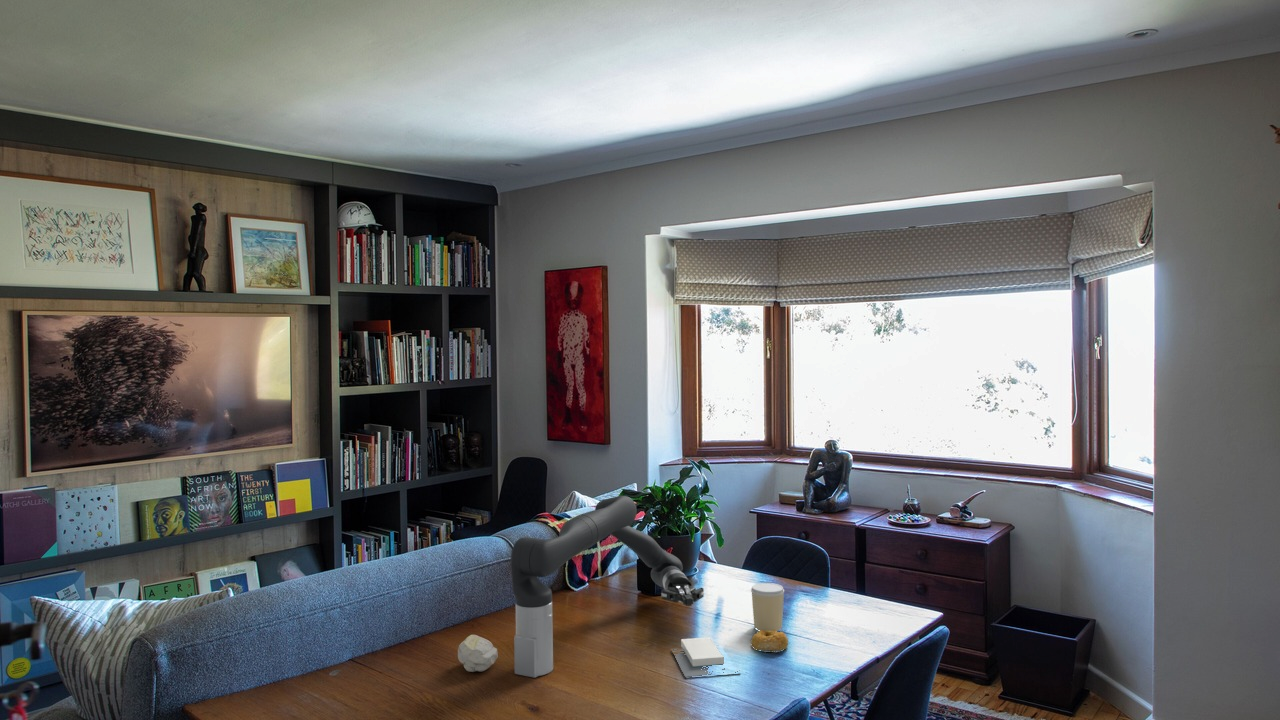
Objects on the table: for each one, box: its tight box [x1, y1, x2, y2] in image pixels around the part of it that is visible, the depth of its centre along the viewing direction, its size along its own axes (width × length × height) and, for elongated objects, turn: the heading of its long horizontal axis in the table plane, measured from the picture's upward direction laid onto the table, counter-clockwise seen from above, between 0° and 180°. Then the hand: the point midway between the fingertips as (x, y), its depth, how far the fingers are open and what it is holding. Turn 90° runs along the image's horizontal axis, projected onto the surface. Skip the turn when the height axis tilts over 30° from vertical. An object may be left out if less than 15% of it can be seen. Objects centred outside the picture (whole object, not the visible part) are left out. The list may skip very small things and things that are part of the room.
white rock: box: [457, 634, 499, 673], centre depth 205 cm, size 12×8×10 cm
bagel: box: [750, 630, 789, 652], centre depth 217 cm, size 10×11×5 cm
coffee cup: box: [750, 582, 785, 631], centre depth 231 cm, size 9×9×12 cm
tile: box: [680, 636, 724, 667], centre depth 210 cm, size 2×8×14 cm
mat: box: [671, 648, 738, 678], centre depth 207 cm, size 18×14×1 cm
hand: (689, 602), depth 223 cm, fingers closed
